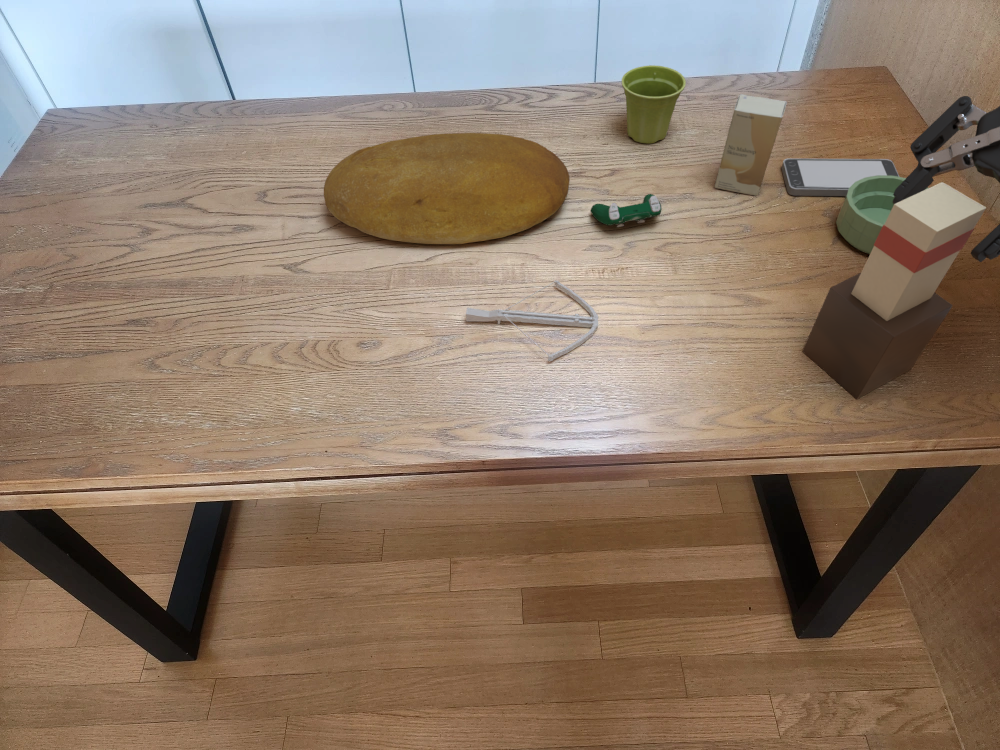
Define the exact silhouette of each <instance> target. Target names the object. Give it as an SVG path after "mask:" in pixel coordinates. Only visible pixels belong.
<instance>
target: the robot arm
mask: <svg viewBox="0 0 1000 750" xmlns="http://www.w3.org/2000/svg"><path fill="white" fill-rule="evenodd" d="M972 126H976V129H975V135H974V136H972V137H968V138H967V139H963V140H960V141H956V142H954V143H952V144H950V145H949V146H948V147H946V148H943V149H941V148H942V147H943V146H944V145H945V144H946V143H947V142H948V141H949V140H950V139H951V138H953V136H955V135H956V134H957V133H958V132H960V131H966V130H967V129H969V128H971V127H972ZM909 148H910V150H911V152H912V155H913V156H914V159H915V160H916V161H917V166H916V167H915V168H914V169H913V171H912V172H911V173H909V175H908V176H907V177H905V178H906V179H905V180H904V181H903V182H902V183H901V184H900V185H899V186H898V187H897V188H896V189H895V192H894V194H893V195H894V197H895V198H894V199H893V202H892V203H893V204H896V203H898V202H900V201H902V200H904V199H906V198H909V197H911V196H913V195H915V194H917V193H919V192H922V191H924V190H925V189H926V188H927V187H928V188H929V186H931V184H933V182H934V181H935V180H934V178H935V177H937V176H941V175H943V174H944V175H945V174H947V173H950V172H953V171H958V172H959V171H964V170H967V169H971V168H973V167H975V168H976V171H977V173H978V174H979V173H980V174H981V175H983V176H985V177H989V178H993V179H995V180H996V181H997V183H999V184H1000V105H999V106H998V107H995V108H994V109H992V110H991V111H988V112H986V111H985V110H984V109H982V108H980V107H978V106H977V105H975V104H973V101H972V98H971V96H968V95H962V96H959V98H957V99H956V100H955V101H954V102H953V103H952V104H951V105H950V106H949V107H948V108H947V109H946V110H944V112H943V113H942V114H941V115H939V117H937V118H936V120H934V121H933V123H931V124H930V125H929V126H928V127H927V128H926V129H925V130H924V131H923V132H922V133H921V134H919V135H918V137H917V138H916V139H914V141H913V142H912V143H911V144H910V147H909ZM970 255H971V256H972V258H973V259H974V260H976V261H977V262H978V263H982V262H983V261H985V260H986V259H989V260H990V261H991V260H993V259H996V258H998V257H999V256H1000V223H999V224H997V226H995V227H994V228H993V229H992V230H991V231H990V232H989V233H988V234H987V235H986V236H985V237H984V238H983V239H981V240H980V242H978V243H977V244H976V245H975V246H974V247H973V249H972V250H971V251H970Z"/></svg>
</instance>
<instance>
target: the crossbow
mask: <svg viewBox="0 0 1000 750" xmlns="http://www.w3.org/2000/svg"><path fill="white" fill-rule="evenodd" d="M553 284H554V286H555V288H556V289H559V290H560V291H562V292H563V293H565V294H566V295H568V296H569V297H570V298H572V299H573V300H574V301H575V302H577V303H578V304H579V305H580V306H581V307H582V308H583V309H585V311H587V312H588V314H589V315H590V316H587V315H580V314H579V313H575V314H574V315H573V314H560V313H548V312H539V311H537V312H535V311H525V310H517V309H514V310H512V307H514V306H516V305H518V304H520V303H521V302H523V301H525V300H526V299H529V298H530V297H532V296H534V295H535V294H537V293H539V292H541V291H542V290H544V289H546V288H548V287H549V286H551V285H553ZM510 308H511V310H510ZM494 321H497V325H498V326H499V325H500V324H501V321H503V322H510V324H512V325H513V326H514V327H515V328H516V329H518V331H520V332H521V333H522V334H523V335H525V337H527V338H528V339H529V341H531V342H532V343H533V344H534V345H536V346H537V347H538V348H539V349H540V350H541V351H542V352H543V353H545V355H547V361H548V362H553V361H554V360H556V359H557V358H560V357H562V356H564V355H566V354H568V353H569V352H571V351H573V350H575V349H576V348H578V347H580V346H581V345H582V344H584V343H585V342H586V341H588V340H589V339H590V338H592V337H593V336H594V334H595V333H596V332H597V330H598V329H599V315H598V313H597V312H596V311H595V309H594V308H593V307H592V306H591V305H590V304H589V303H588V302H587V301H586V300H585V299H584V298H582V297H581V296H580V295H578V293H576V292H575V291H573V290H572V289H571V288H569V287H568V286H566V285H564V284H563V283H561V282H560V280H554V281H553V282H551V283H550V284H548V285H546V286H544V287H542V288H540V289H539V290H537V291H535V292H534V293H532V294H530V295H528V296H527V297H525V298H523V299H521V300H520V301H518V302H516V303H514V304H512V305H510V306H509V307H507V308H506V309H500V308H498V309H493V310H487V309H486V310H485V309H480V308H474V307H473V308H472V307H466V310H465V322H494ZM514 322H517V323H528V324H529V323H530V324H540V325H541V324H542V325H555V326H567V327H579V328H590V329H589V330H588V331H587V332H586V333H584V335H582V336H581V337H580V338H579V339H577V340H575V341H573V342H572V343H570V344H569V345H567V346H566V347H564V348H561V349H560V350H557V351H555V352H553V353H551V354H549V353H547V351H545V350H544V349H543V347H541V346H540V345H539V344H537V342H535V341H534V340H533V339H532V338H530V336H528V334H526V333H525V332H524V331H523V330H522V329H521V328H519V327H518V325H516V324H515V323H514Z"/></svg>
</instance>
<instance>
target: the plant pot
mask: <svg viewBox="0 0 1000 750" xmlns="http://www.w3.org/2000/svg"><path fill="white" fill-rule="evenodd" d="M686 84H687V81H686V78H685V76H684V75H683V74H682V73H681V72H679V71H678V70H676V69H674V68H671V67H668V66H664V65H655V64H654V65H650V64H649V65H642V66H637V67H635V68H632V69H630V70H628V71H626V72H625V73H624V74H623V76H622V77H621V86H622V88H623V90H624V95H625V106H626V131H627V136H628V137H630V138H632V140H633V141H634V142H636V143H639V144H649V145H650V144H655V143H656V142H658V141H660V140H661V141H663V140H664V139H665V138H666V137H667V133H668V130H669V127H670V124H671V120H672V118H673V114H674V111H675V107H676V104H677V102H678V101H677V100H678V99H679V97H680V96H681V93H682V92H683V91H684V90H685V88H686V86H687V85H686Z"/></svg>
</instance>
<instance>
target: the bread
mask: <svg viewBox="0 0 1000 750" xmlns="http://www.w3.org/2000/svg"><path fill="white" fill-rule="evenodd" d="M569 187H570V174H569V170H568V168H567V166H566V165H565V164H564V162H563V161H562V159H561V158H560V157H559V156H557V155H556V154H555V153H554V152H553V151H551V150H549V149H548V148H547V147H546V146H543V145H541V144H539V143H538V142H535V141H533V140H530V139H526V138H524V137H518V136H514V135H508V134H502V133H501V134H500V133H488V132H487V133H486V132H485V133H484V132H456V133H455V132H453V133H436V134H427V135H419V136H414V137H408V138H407V137H406V138H402V139H401V138H400V139H395V140H389V141H385V142H382V143H378V144H375V145H371V146H366V147H363V148H360V149H358V150H356V151H354V152H352V153H350V154H349V155H347V156H346V157H344V158H343V159H341V160H340V161H339V162H338V163H337V164H336V165H335V166H334V167H333V168H332V169H331V170H330V172H329V173H328V175H327V177H326V180H325V181H324V186H323V198H324V203H325V206H326V208H327V210H328V211H329V212H330V214H331V215H332V216H334V217H335V219H337V220H338V221H340V222H342V223H343V224H345V225H347V226H349V227H351V228H355V229H357V230H358V231H360V232H362V233H364V234H365V235H366V234H367V235H370V236H373V237H376V238H379V239H383V240H389V241H394V242H395V241H396V242H397V241H398V242H402V243H412V244H424V245H462V244H463V245H464V244H468V243H469V244H470V243H476V242H483V241H484V242H485V241H489V240H490V241H491V240H495V239H501V238H505V237H507V236H511V235H514V234H517V233H520V232H523V231H525V230H529V229H530V228H533V227H534V226H536V225H538V224H540V223H542V222H544V221H545V220H546V219H549V218H550V217H551V216H553V215H554V214H555V213H557V212H558V211H559V209H560V208H561V207H562V206H563V205H564V202H565V200H566V198H567V196H568V194H569Z"/></svg>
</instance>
